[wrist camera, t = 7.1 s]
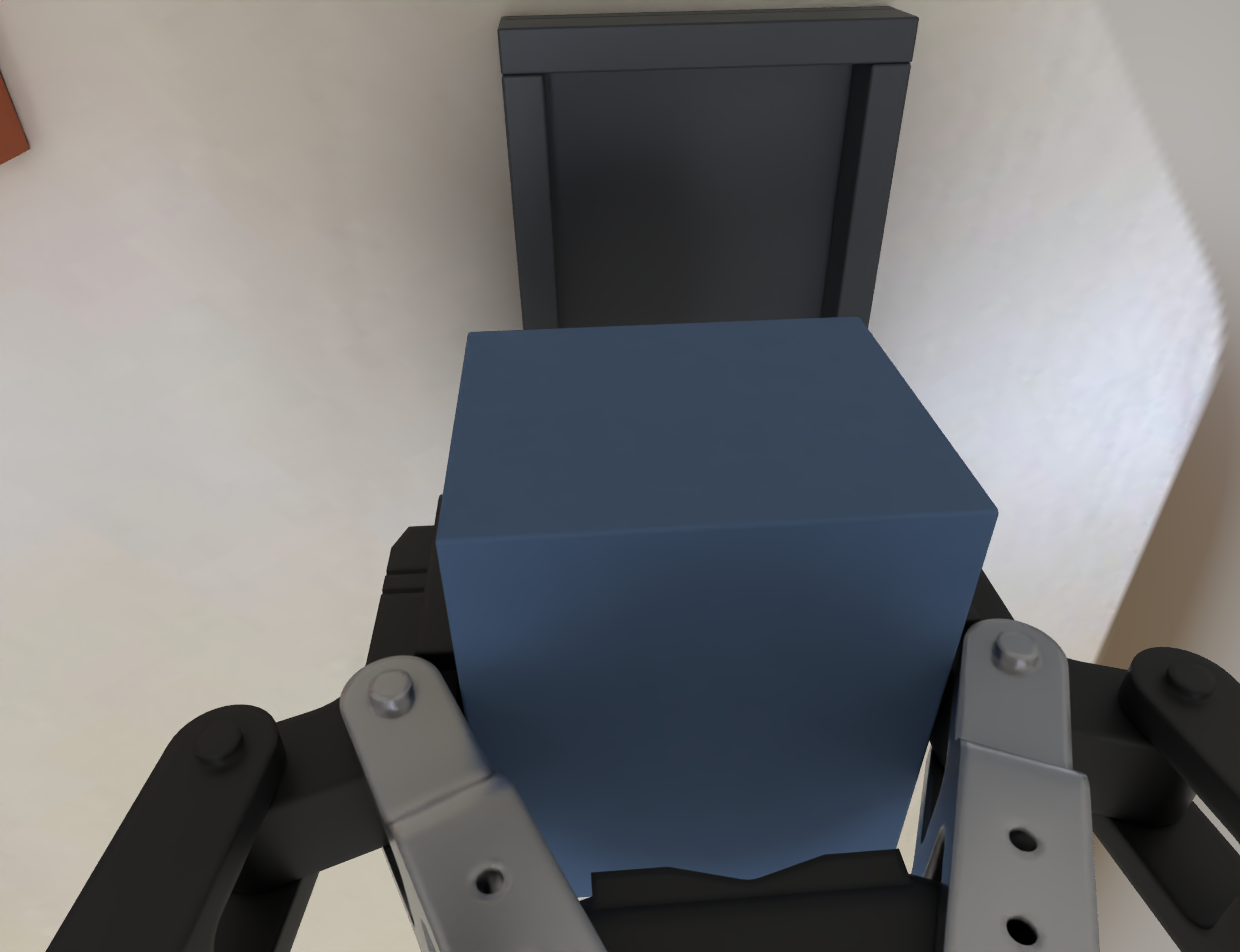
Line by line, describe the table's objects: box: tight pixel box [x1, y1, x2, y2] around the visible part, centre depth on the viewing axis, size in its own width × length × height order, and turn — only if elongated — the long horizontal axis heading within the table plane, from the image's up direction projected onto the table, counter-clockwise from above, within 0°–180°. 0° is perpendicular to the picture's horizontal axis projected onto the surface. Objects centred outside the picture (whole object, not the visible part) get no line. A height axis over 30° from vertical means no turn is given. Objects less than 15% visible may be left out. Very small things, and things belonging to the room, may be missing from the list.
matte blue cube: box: [435, 317, 998, 898], centre depth 13 cm, size 7×6×5 cm
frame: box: [498, 6, 919, 330], centre depth 26 cm, size 19×10×2 cm, turn 1°
